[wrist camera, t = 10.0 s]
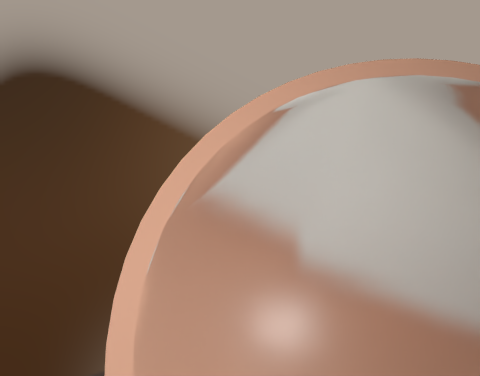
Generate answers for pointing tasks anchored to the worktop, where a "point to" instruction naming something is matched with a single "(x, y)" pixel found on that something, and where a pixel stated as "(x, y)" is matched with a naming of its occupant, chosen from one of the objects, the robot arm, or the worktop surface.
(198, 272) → the white pink cylinder
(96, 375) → the worktop surface
